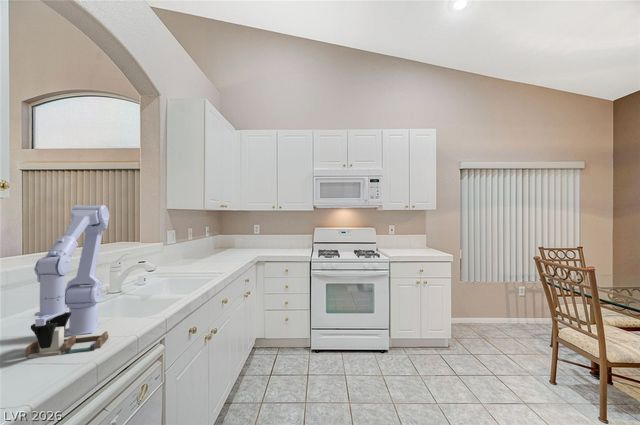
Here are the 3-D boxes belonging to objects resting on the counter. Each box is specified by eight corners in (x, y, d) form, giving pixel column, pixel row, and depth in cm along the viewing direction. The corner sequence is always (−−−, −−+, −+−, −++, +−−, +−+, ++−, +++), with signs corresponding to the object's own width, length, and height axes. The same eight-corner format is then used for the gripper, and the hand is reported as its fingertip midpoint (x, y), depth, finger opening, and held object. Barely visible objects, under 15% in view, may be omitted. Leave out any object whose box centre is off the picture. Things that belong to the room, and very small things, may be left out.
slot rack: (40, 345, 95) (40, 337, 95) (108, 338, 101) (108, 330, 101) (23, 358, 86) (23, 349, 86) (98, 349, 92) (98, 341, 92)
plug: (45, 348, 93) (45, 324, 93) (63, 346, 95) (64, 323, 95) (39, 353, 90) (39, 328, 90) (58, 350, 92) (58, 326, 92)
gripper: (48, 292, 98) (47, 335, 98) (21, 304, 84) (21, 354, 84) (75, 290, 100) (74, 332, 100) (53, 302, 87) (53, 351, 87)
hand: (52, 342), depth 92 cm, fingers open, 7 cm apart
